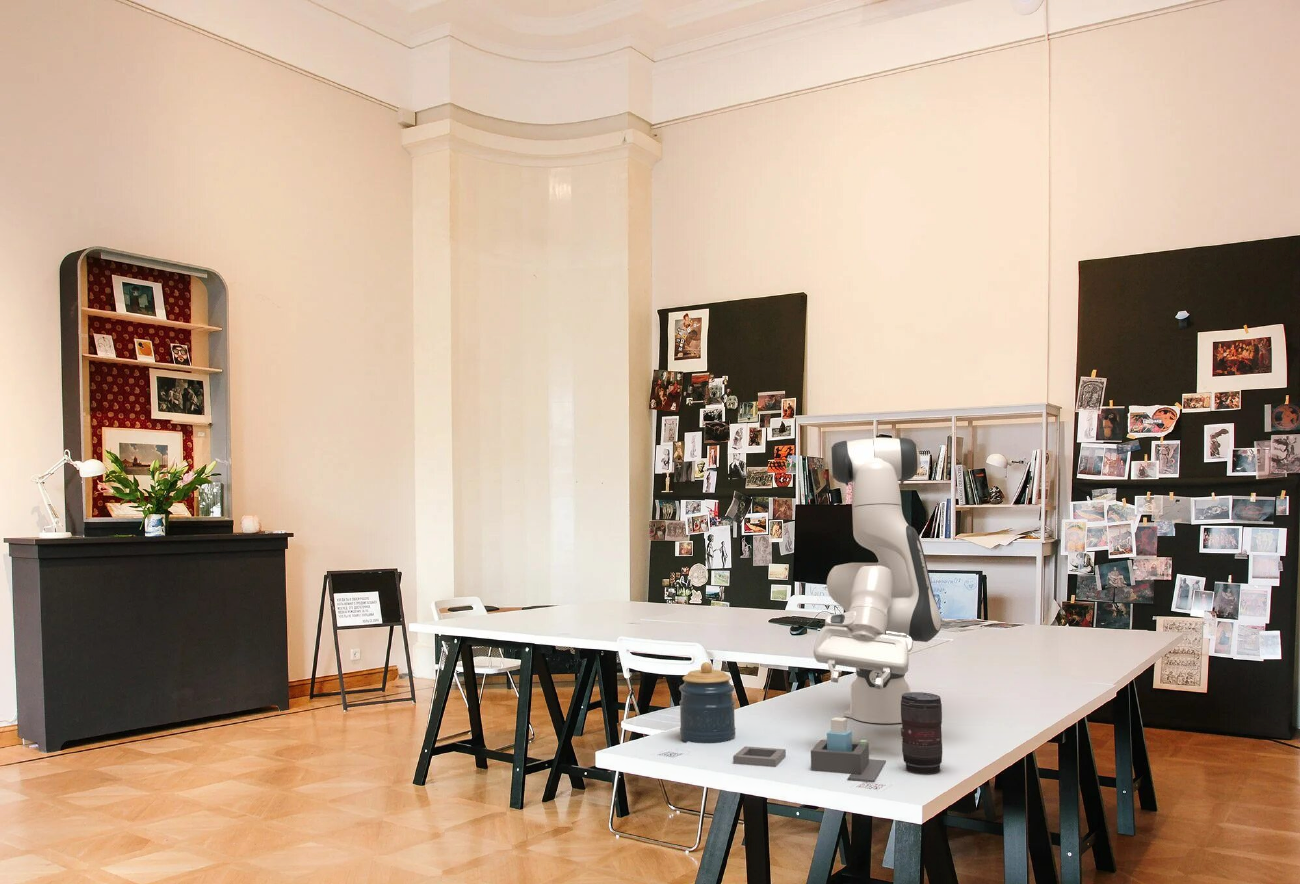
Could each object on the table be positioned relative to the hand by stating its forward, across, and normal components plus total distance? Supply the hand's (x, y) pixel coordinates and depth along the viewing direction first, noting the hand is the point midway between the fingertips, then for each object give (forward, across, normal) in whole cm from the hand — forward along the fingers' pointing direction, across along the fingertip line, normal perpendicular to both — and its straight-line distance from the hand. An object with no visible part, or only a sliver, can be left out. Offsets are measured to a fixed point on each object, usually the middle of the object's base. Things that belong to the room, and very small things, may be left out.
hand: (856, 684), depth 212 cm
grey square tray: (+19, +18, -5) cm, 26 cm away
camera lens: (+14, -15, -5) cm, 22 cm away
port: (+18, +1, -3) cm, 18 cm away
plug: (+17, +1, -3) cm, 18 cm away
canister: (+10, +34, -20) cm, 41 cm away
